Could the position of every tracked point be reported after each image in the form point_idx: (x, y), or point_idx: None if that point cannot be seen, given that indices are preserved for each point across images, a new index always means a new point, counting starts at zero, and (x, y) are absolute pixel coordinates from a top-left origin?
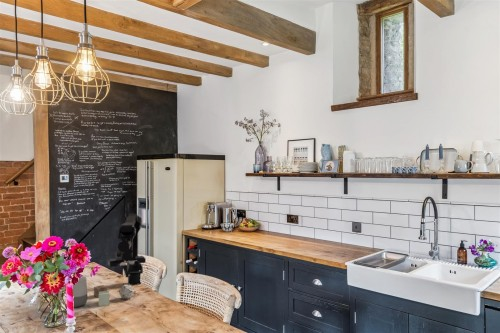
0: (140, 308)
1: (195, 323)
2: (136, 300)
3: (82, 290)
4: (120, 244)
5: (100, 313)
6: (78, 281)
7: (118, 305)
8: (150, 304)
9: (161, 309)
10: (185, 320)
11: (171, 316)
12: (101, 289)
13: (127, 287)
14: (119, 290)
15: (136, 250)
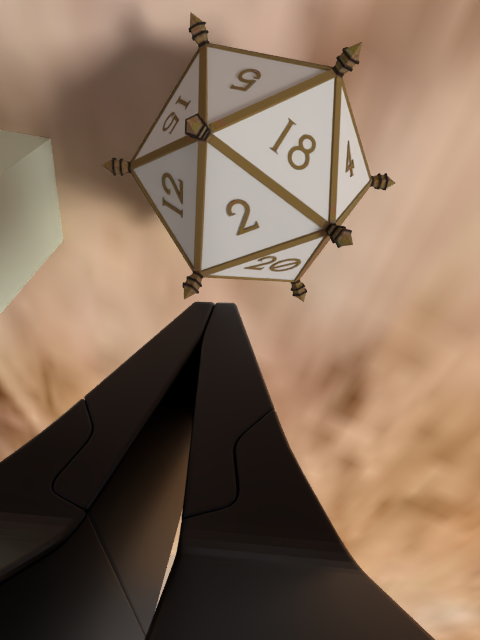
0: (304, 419)
1: (452, 626)
2: (348, 247)
3: None
4: None
5: (15, 369)
6: None
7: (150, 289)
8: (411, 392)
9: (423, 487)
10: (437, 601)
11: (410, 560)
12: None
13: (244, 269)
14: (137, 180)
15: None
